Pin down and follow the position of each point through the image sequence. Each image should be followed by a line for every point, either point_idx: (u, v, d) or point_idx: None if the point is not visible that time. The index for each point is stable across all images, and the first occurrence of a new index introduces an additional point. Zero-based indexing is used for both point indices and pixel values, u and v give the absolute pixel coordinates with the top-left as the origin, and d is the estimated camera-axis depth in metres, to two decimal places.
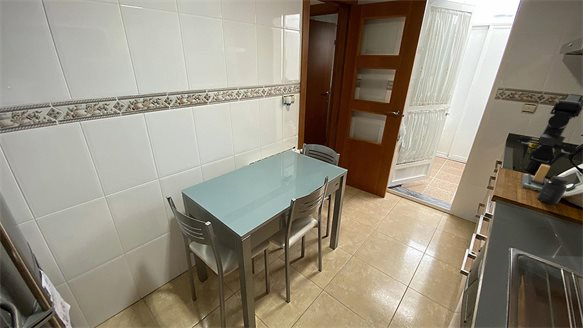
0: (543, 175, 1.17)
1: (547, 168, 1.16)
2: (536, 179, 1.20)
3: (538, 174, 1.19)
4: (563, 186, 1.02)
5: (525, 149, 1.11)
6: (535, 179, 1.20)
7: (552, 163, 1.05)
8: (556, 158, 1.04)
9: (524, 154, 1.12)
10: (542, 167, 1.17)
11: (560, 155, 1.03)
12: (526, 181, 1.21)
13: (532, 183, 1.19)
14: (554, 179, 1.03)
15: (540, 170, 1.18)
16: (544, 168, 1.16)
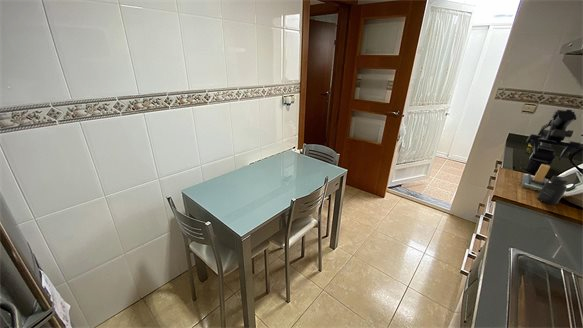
0: (543, 175, 1.17)
1: (547, 168, 1.16)
2: (536, 179, 1.20)
3: (538, 174, 1.19)
4: (563, 186, 1.02)
5: (536, 145, 1.23)
6: (535, 179, 1.20)
7: (562, 156, 1.17)
8: (565, 152, 1.17)
9: (536, 149, 1.23)
10: (542, 167, 1.17)
11: (568, 149, 1.17)
12: (526, 181, 1.21)
13: (532, 183, 1.19)
14: (554, 179, 1.03)
15: (540, 170, 1.18)
16: (544, 168, 1.16)
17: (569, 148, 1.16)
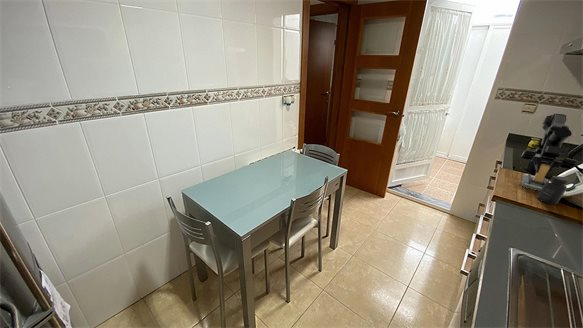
0: (543, 175, 1.17)
1: (547, 168, 1.16)
2: (536, 179, 1.20)
3: (538, 174, 1.19)
4: (563, 186, 1.02)
5: (538, 163, 1.19)
6: (535, 179, 1.20)
7: None
8: (551, 167, 1.16)
9: (538, 168, 1.18)
10: (542, 167, 1.17)
11: (555, 164, 1.15)
12: (526, 181, 1.21)
13: (532, 183, 1.19)
14: (554, 179, 1.03)
15: (540, 170, 1.18)
16: (544, 168, 1.16)
17: (556, 163, 1.15)
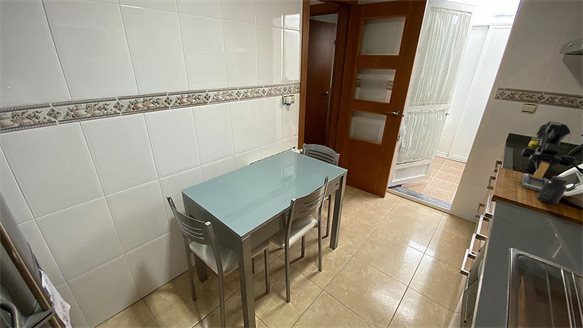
0: (543, 172, 1.20)
1: (547, 165, 1.18)
2: (536, 176, 1.22)
3: (538, 171, 1.21)
4: (563, 186, 1.02)
5: (538, 160, 1.22)
6: (535, 176, 1.23)
7: (548, 169, 1.19)
8: (551, 164, 1.19)
9: (538, 165, 1.21)
10: (542, 164, 1.19)
11: (554, 162, 1.18)
12: (526, 181, 1.21)
13: (532, 183, 1.19)
14: (554, 179, 1.03)
15: (540, 167, 1.20)
16: (544, 165, 1.19)
17: (555, 161, 1.18)
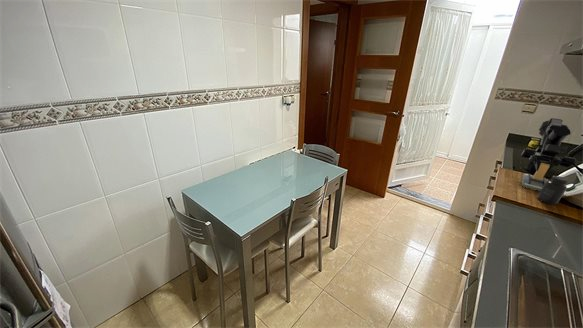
0: (543, 173, 1.19)
1: (547, 166, 1.17)
2: (536, 177, 1.21)
3: (538, 172, 1.20)
4: (563, 186, 1.02)
5: (538, 161, 1.20)
6: (535, 177, 1.21)
7: (548, 170, 1.18)
8: (551, 165, 1.18)
9: (538, 166, 1.20)
10: (542, 165, 1.18)
11: (554, 163, 1.17)
12: (526, 181, 1.21)
13: (532, 183, 1.19)
14: (554, 179, 1.03)
15: (540, 168, 1.19)
16: (544, 166, 1.18)
17: (555, 162, 1.17)
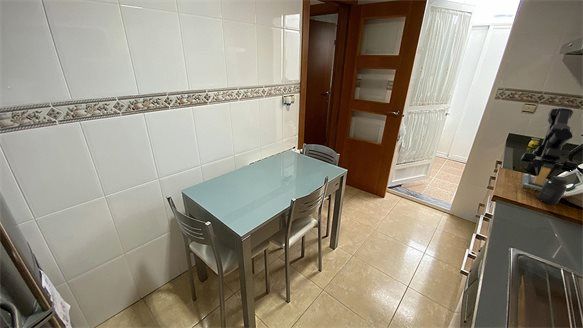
0: (543, 178, 1.15)
1: (548, 171, 1.13)
2: (536, 182, 1.17)
3: (538, 177, 1.16)
4: (563, 186, 1.02)
5: (539, 166, 1.16)
6: (535, 182, 1.17)
7: (549, 175, 1.13)
8: (552, 170, 1.13)
9: (538, 171, 1.15)
10: (542, 170, 1.14)
11: (555, 167, 1.12)
12: (526, 181, 1.21)
13: None
14: (554, 179, 1.03)
15: (540, 173, 1.15)
16: (544, 171, 1.14)
17: (556, 166, 1.12)
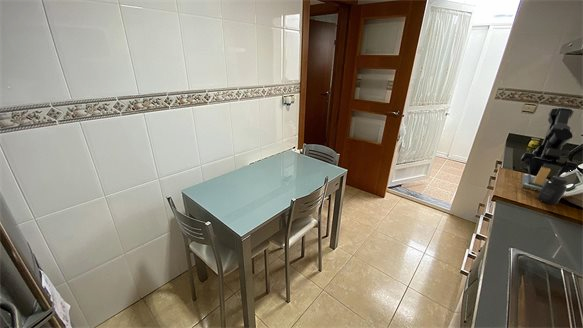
0: (543, 178, 1.15)
1: (548, 171, 1.13)
2: (536, 182, 1.17)
3: (538, 177, 1.16)
4: (563, 186, 1.02)
5: (531, 164, 1.17)
6: (535, 182, 1.17)
7: None
8: (561, 172, 1.11)
9: (530, 169, 1.17)
10: (542, 170, 1.14)
11: (564, 169, 1.11)
12: (526, 181, 1.21)
13: None
14: (554, 179, 1.03)
15: (540, 173, 1.15)
16: (544, 171, 1.14)
17: (565, 168, 1.10)
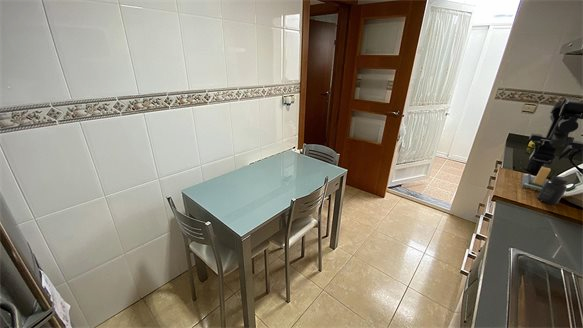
0: (543, 178, 1.15)
1: (548, 171, 1.13)
2: (536, 182, 1.17)
3: (538, 177, 1.16)
4: (563, 186, 1.02)
5: (536, 146, 1.22)
6: (535, 182, 1.17)
7: (561, 157, 1.18)
8: (565, 153, 1.16)
9: (535, 150, 1.23)
10: (542, 170, 1.14)
11: (568, 151, 1.15)
12: (526, 181, 1.21)
13: None
14: (554, 179, 1.03)
15: (540, 173, 1.15)
16: (544, 171, 1.14)
17: (570, 150, 1.14)
